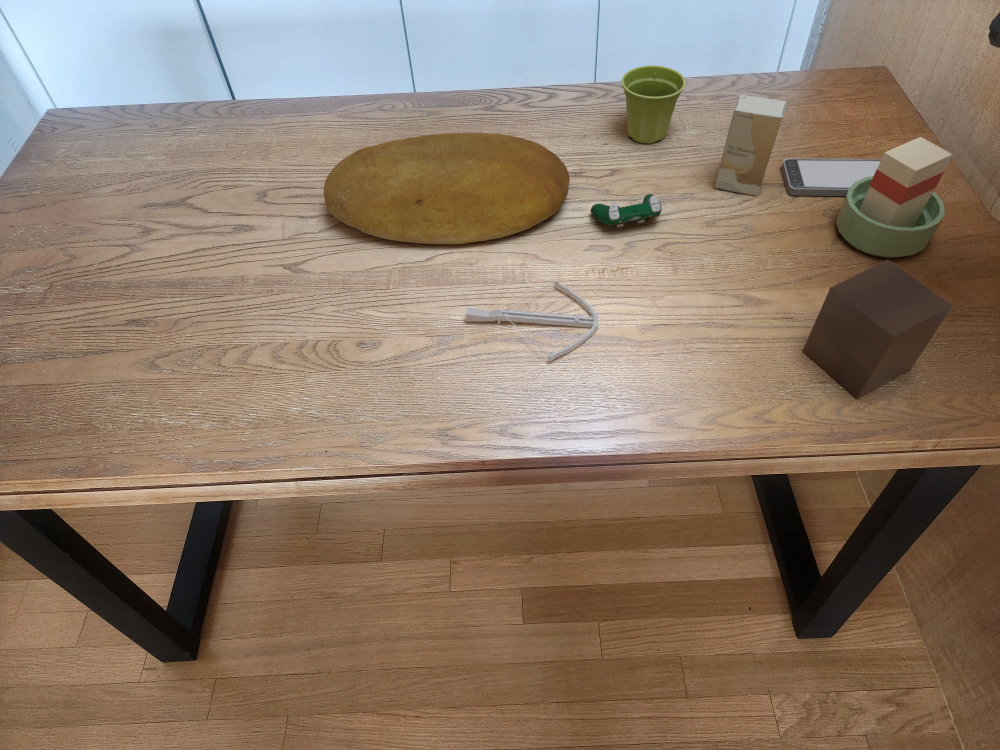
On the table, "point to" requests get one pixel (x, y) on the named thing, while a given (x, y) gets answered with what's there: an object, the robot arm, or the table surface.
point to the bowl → (886, 226)
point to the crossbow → (543, 319)
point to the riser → (874, 327)
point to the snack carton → (904, 183)
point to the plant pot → (651, 101)
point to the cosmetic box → (749, 143)
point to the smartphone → (825, 175)
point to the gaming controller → (627, 211)
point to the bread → (447, 188)
